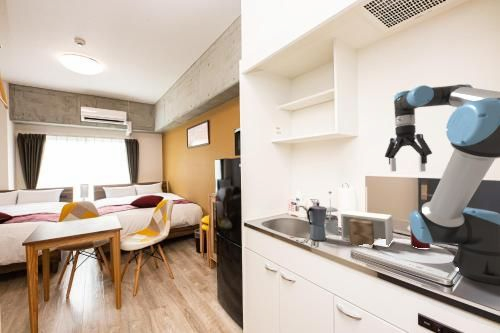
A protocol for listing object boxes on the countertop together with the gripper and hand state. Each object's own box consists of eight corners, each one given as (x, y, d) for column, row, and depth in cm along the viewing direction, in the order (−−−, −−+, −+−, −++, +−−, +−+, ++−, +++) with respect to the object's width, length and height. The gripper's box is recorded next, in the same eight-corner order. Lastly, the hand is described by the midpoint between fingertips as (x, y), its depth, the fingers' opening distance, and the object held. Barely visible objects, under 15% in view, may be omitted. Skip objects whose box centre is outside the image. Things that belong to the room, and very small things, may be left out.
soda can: (434, 250, 98) (433, 224, 98) (416, 250, 100) (415, 224, 100) (424, 245, 105) (423, 220, 105) (407, 244, 107) (406, 220, 107)
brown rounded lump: (374, 246, 106) (373, 221, 107) (371, 249, 103) (370, 224, 103) (352, 241, 113) (352, 219, 113) (349, 244, 109) (348, 221, 110)
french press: (324, 234, 127) (323, 192, 127) (321, 229, 138) (319, 190, 138) (342, 234, 125) (340, 192, 125) (337, 229, 136) (335, 190, 137)
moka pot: (332, 237, 121) (331, 202, 121) (317, 244, 111) (315, 205, 111) (318, 234, 128) (316, 200, 128) (302, 240, 118) (300, 203, 119)
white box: (393, 242, 111) (392, 215, 111) (388, 248, 103) (387, 219, 103) (348, 234, 126) (347, 210, 126) (341, 239, 118) (340, 213, 118)
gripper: (375, 130, 111) (377, 171, 110) (428, 119, 87) (430, 171, 86) (387, 130, 113) (388, 171, 112) (441, 120, 89) (443, 171, 89)
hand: (406, 171), depth 99 cm, fingers open, 13 cm apart
